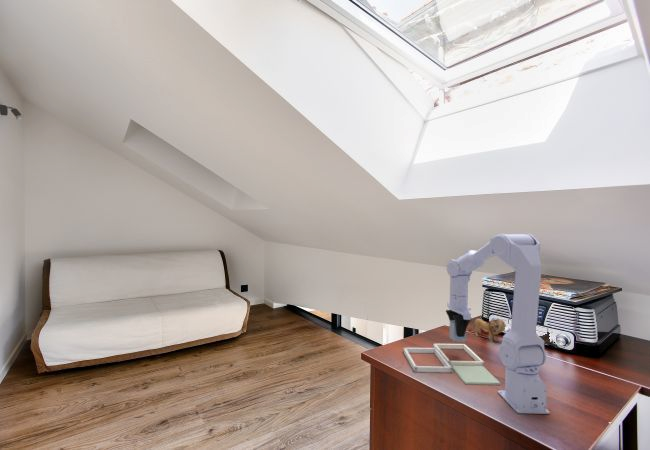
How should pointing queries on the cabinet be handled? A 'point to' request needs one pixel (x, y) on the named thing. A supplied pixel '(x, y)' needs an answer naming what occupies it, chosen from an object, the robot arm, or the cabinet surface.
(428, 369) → the grey rectangular frame
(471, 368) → the green mat
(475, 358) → the cream rectangular frame
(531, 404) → the robot arm
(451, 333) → the slate block
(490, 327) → the lion figurine
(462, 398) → the cabinet surface
